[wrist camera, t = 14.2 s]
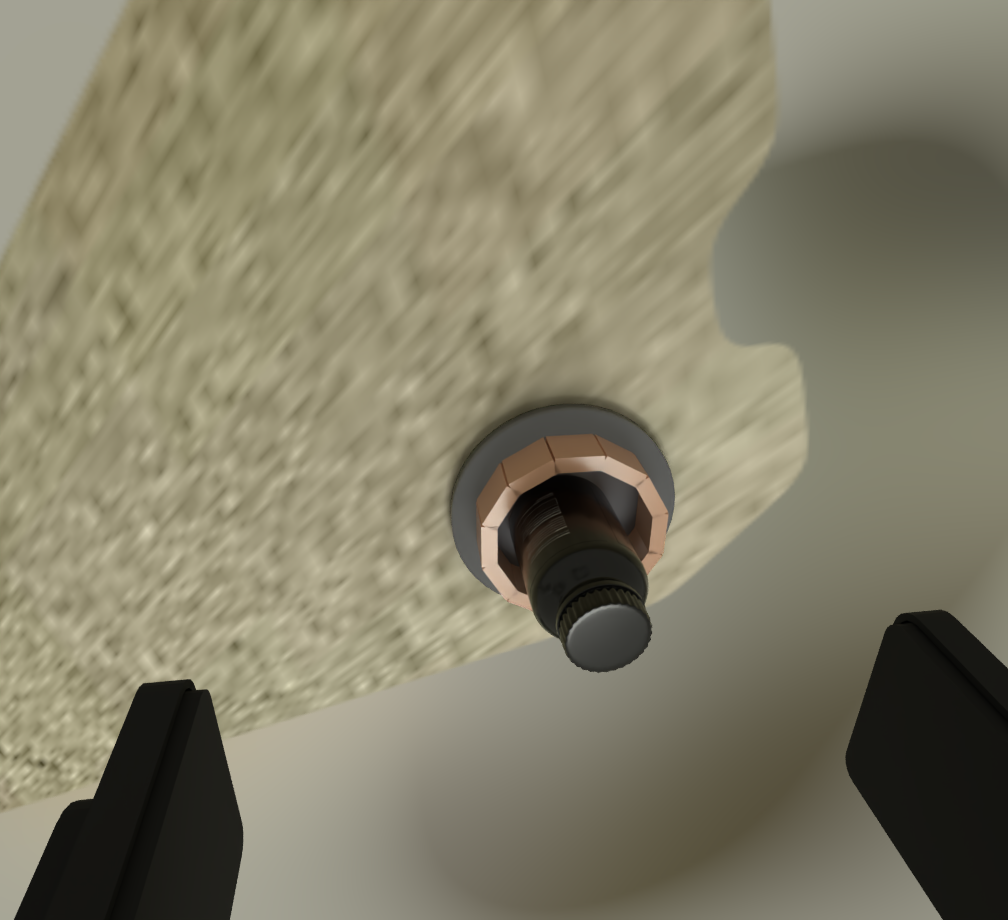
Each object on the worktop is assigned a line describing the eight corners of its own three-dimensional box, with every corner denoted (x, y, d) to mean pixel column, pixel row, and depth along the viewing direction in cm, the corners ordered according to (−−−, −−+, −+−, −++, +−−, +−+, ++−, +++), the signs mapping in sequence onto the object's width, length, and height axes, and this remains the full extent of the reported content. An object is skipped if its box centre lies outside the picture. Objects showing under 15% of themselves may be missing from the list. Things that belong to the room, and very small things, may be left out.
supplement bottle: (516, 568, 50) (551, 700, 40) (499, 483, 47) (532, 603, 36) (614, 546, 50) (674, 671, 40) (604, 460, 47) (667, 572, 37)
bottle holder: (453, 603, 52) (458, 643, 48) (446, 409, 45) (452, 440, 41) (656, 586, 54) (676, 623, 50) (681, 398, 47) (706, 425, 43)
